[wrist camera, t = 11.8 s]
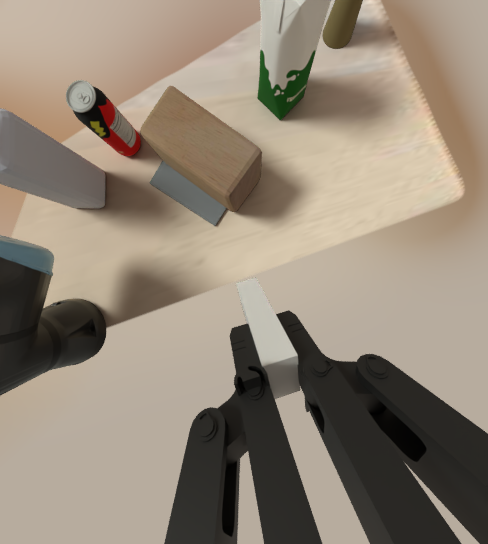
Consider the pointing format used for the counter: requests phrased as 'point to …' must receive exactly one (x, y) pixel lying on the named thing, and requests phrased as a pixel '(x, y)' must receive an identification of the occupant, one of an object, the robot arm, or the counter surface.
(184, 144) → the block
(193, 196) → the mat
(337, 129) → the counter surface
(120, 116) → the beverage can
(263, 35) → the milk carton
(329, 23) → the olive peg figure
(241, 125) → the counter surface
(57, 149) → the soap bottle
